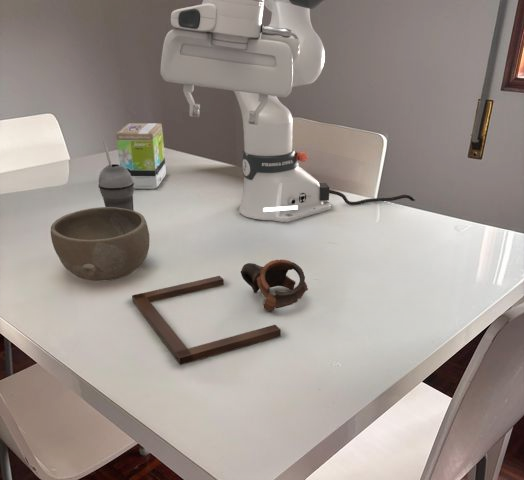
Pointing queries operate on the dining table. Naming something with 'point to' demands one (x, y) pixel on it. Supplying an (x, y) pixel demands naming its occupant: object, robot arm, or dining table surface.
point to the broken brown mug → (275, 282)
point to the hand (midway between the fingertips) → (223, 120)
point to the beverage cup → (116, 185)
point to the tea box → (142, 153)
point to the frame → (173, 340)
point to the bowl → (101, 242)
